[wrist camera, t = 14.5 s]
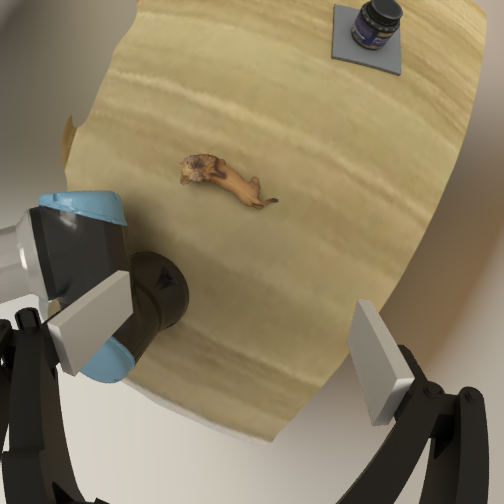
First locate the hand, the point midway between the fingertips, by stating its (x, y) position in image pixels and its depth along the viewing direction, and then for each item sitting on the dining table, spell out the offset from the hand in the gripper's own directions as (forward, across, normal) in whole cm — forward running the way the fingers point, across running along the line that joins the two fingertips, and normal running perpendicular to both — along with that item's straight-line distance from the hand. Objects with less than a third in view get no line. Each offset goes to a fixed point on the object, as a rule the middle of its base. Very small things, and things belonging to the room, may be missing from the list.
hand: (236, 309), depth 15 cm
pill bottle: (+30, -15, -34) cm, 47 cm away
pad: (+31, -15, -34) cm, 48 cm away
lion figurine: (+31, +6, -5) cm, 32 cm away
